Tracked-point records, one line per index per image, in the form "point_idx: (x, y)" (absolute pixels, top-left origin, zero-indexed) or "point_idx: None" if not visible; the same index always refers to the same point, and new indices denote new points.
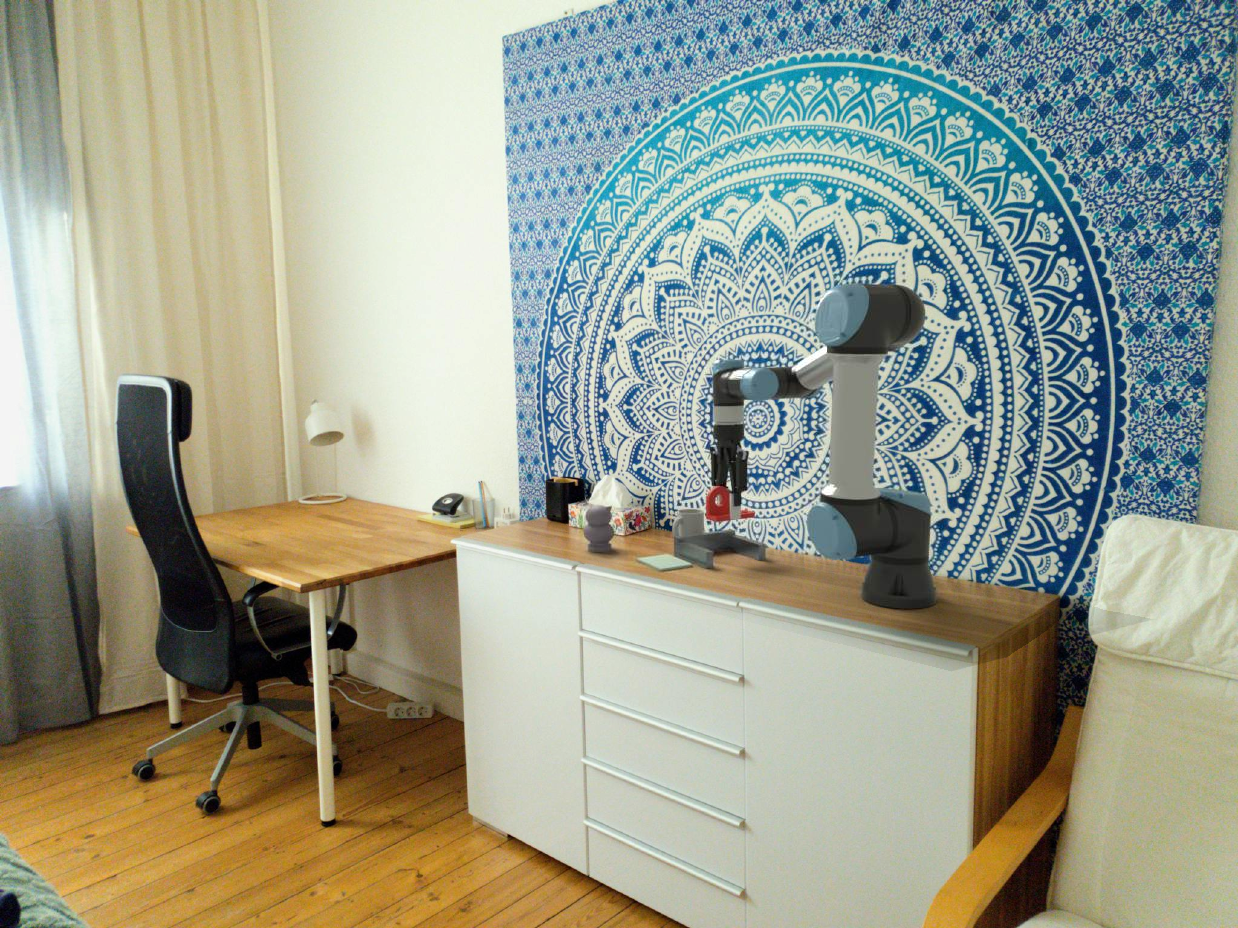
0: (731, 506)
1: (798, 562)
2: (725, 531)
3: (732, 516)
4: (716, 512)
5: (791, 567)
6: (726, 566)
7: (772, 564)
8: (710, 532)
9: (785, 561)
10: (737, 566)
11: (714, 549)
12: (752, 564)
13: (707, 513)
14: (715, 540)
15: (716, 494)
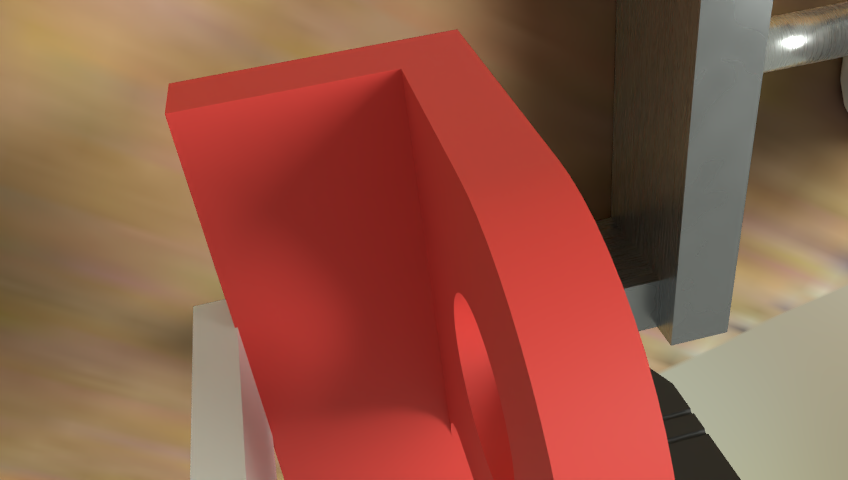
0: (192, 445)
1: (137, 473)
2: (689, 274)
3: (196, 347)
4: (426, 219)
5: (12, 410)
6: (153, 11)
7: (126, 336)
8: (734, 155)
9: (184, 422)
10: (129, 97)
11: (623, 113)
12: (163, 221)
13: (436, 71)
14: (654, 153)
15: (515, 427)
